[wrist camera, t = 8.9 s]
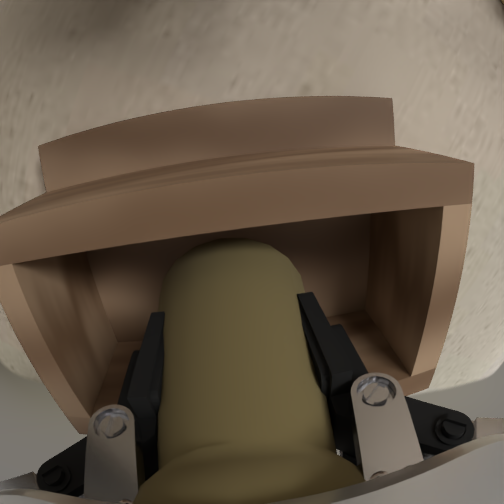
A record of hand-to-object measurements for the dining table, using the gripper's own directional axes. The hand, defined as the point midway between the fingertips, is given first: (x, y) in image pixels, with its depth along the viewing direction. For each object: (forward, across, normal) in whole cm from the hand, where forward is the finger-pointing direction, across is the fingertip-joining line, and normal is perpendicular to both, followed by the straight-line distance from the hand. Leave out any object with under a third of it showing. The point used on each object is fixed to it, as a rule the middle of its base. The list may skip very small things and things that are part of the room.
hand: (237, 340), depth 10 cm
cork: (+2, 0, 0) cm, 2 cm away
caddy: (+7, 0, -1) cm, 7 cm away
